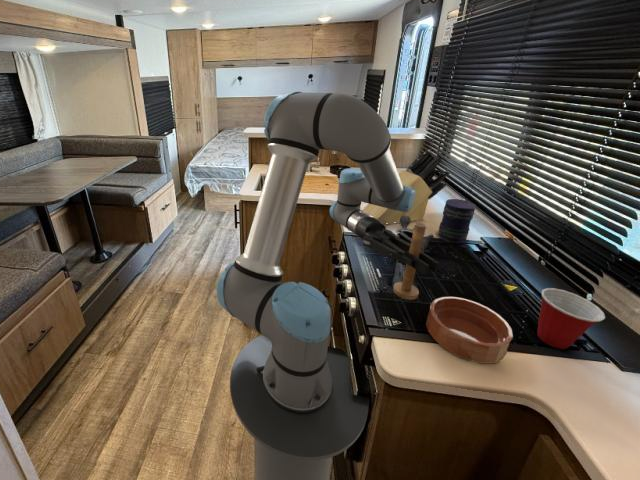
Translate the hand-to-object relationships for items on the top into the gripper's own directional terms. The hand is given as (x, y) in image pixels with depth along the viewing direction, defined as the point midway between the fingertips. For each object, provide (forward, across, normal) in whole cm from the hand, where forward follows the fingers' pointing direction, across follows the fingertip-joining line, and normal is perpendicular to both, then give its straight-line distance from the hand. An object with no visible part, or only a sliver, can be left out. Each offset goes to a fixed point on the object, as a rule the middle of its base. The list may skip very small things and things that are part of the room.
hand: (431, 268), depth 73 cm
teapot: (-35, -30, -19) cm, 50 cm away
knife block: (-56, -48, -19) cm, 76 cm away
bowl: (+6, -9, -19) cm, 22 cm away
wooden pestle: (-5, 0, -11) cm, 12 cm away
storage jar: (-34, -53, -19) cm, 66 cm away
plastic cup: (+14, -29, -19) cm, 38 cm away
